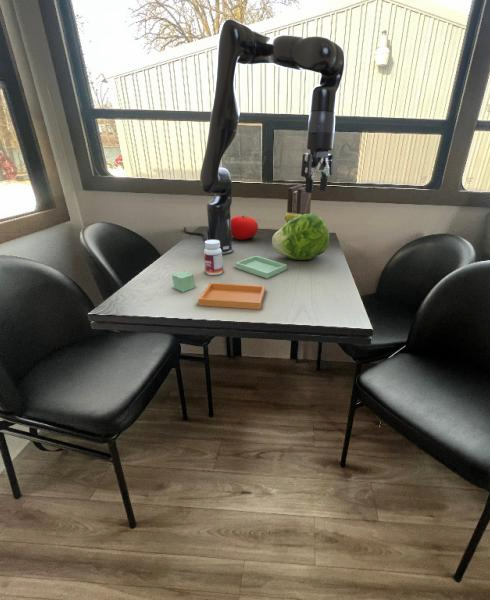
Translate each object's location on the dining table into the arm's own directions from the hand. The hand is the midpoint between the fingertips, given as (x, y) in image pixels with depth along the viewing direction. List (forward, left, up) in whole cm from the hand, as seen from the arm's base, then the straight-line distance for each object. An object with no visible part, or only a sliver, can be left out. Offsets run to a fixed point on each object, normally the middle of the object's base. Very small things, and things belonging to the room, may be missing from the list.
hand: (316, 191), depth 91 cm
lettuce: (-15, +16, -30) cm, 37 cm away
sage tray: (-19, -4, -29) cm, 35 cm away
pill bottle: (-29, -18, -30) cm, 45 cm away
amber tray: (-9, -28, -29) cm, 42 cm away
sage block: (-26, -33, -29) cm, 51 cm away
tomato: (-52, +21, -30) cm, 63 cm away
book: (-32, +39, -30) cm, 58 cm away
